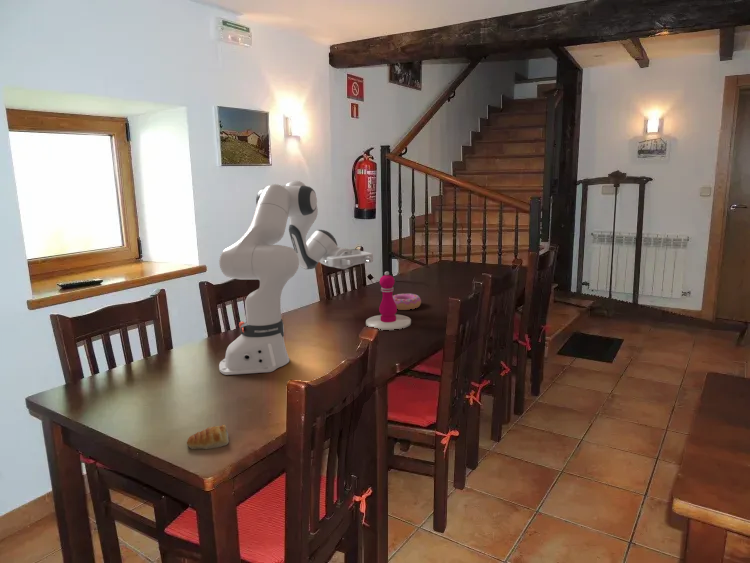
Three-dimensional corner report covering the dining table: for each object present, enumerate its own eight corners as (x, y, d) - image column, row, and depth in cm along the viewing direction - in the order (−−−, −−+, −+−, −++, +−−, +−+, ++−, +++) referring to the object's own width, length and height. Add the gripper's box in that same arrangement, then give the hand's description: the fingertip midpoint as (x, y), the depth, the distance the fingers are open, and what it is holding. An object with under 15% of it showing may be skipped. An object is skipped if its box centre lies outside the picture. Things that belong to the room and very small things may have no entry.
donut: (421, 302, 246) (421, 292, 245) (420, 311, 233) (420, 299, 232) (390, 303, 248) (390, 292, 247) (387, 311, 234) (387, 300, 233)
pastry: (187, 455, 120) (185, 439, 120) (187, 441, 127) (185, 426, 126) (230, 446, 123) (229, 431, 123) (227, 433, 130) (226, 419, 129)
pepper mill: (395, 323, 210) (394, 273, 206) (377, 322, 212) (375, 273, 208) (398, 318, 217) (397, 269, 213) (381, 317, 218) (379, 269, 214)
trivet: (372, 332, 204) (372, 328, 204) (361, 320, 221) (361, 317, 221) (417, 327, 208) (417, 323, 208) (402, 315, 225) (402, 312, 225)
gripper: (320, 253, 220) (338, 256, 209) (361, 248, 232) (380, 251, 221) (321, 268, 221) (339, 272, 210) (361, 263, 233) (381, 266, 222)
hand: (360, 261), depth 216 cm, fingers open, 8 cm apart
